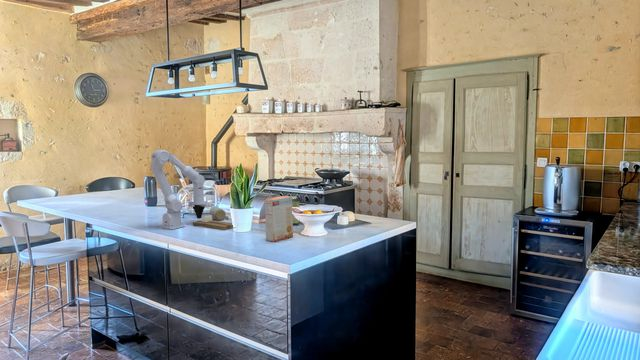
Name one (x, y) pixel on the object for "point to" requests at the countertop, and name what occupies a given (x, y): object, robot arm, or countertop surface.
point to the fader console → (214, 225)
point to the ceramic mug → (217, 213)
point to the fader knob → (206, 218)
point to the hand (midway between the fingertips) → (199, 218)
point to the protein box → (295, 204)
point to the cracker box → (278, 218)
